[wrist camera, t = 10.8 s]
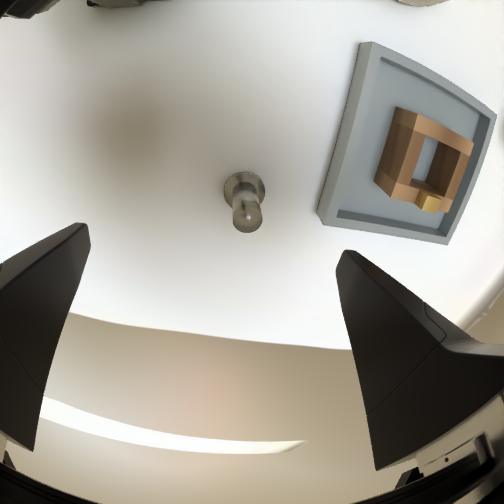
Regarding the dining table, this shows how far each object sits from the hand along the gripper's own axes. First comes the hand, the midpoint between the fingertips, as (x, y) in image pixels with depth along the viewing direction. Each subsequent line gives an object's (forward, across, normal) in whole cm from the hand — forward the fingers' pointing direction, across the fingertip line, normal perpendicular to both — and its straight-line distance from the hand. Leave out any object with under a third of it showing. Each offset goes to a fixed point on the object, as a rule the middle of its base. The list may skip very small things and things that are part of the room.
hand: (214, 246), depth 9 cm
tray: (+12, -15, -3) cm, 19 cm away
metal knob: (+12, -2, +3) cm, 13 cm away
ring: (+12, -15, -3) cm, 19 cm away
